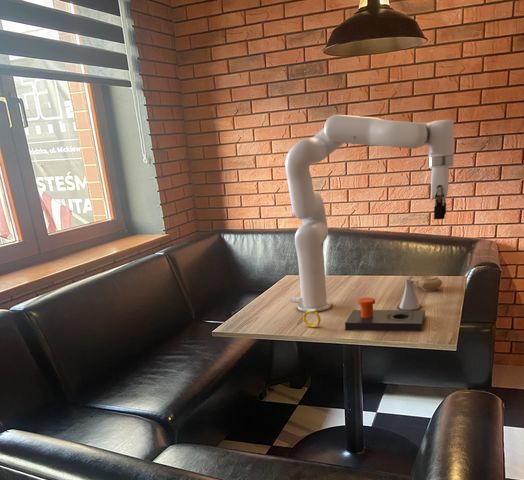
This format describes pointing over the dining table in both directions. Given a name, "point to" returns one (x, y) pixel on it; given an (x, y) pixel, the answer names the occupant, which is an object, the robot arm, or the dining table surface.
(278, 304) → the dining table surface
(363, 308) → the stopper
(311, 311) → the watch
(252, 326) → the dining table surface
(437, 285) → the oil lamp
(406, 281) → the flask
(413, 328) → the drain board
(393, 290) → the dining table surface
